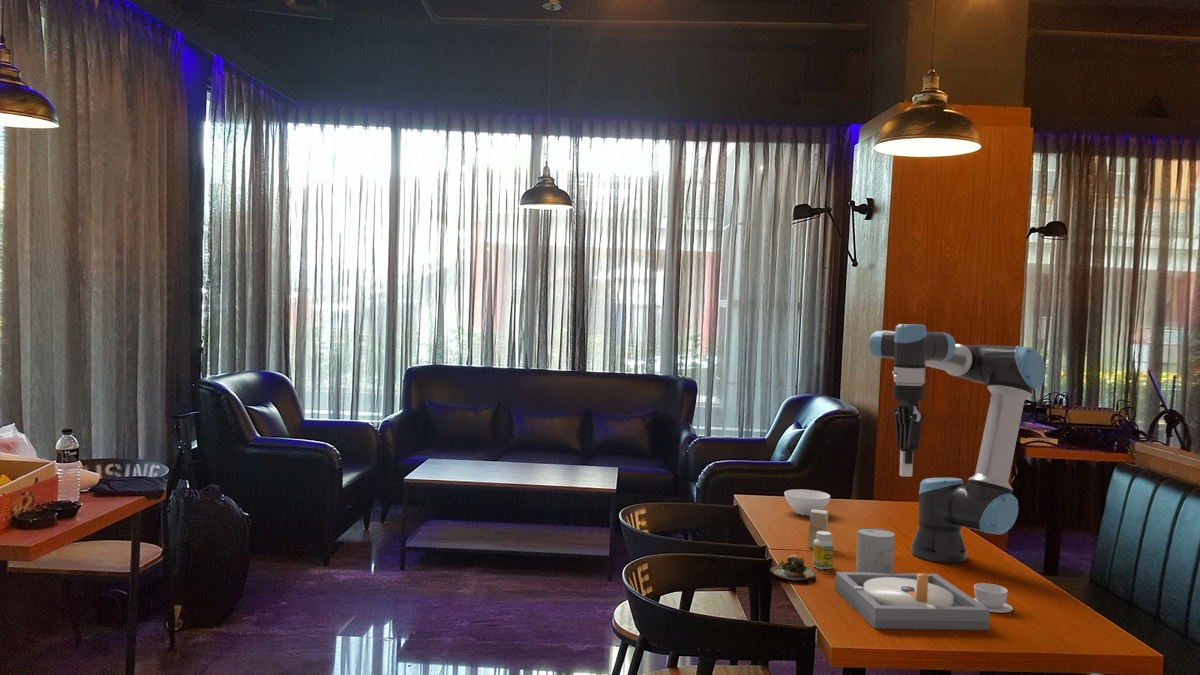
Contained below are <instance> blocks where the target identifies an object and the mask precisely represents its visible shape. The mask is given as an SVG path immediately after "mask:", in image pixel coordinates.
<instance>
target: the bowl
mask: <svg viewBox="0 0 1200 675" xmlns="http://www.w3.org/2000/svg"><path fill="white" fill-rule="evenodd" d="M783 494H784V498H785V500H786V502H787V503H788V505H790V506H791V508H792V509H793V510H794V512H795V513H796V514H797V515H799V514H801V515H800V516H804V515H807V517H810V512H811V510H812V509H816V510H824V508H825V507H826V506H827V505H828V504H829V502H830V499H831V495H830V494H829V493H827V492H824V491H820V490H813V489H800V488H799V489H788V490H785V491H784V493H783Z"/></svg>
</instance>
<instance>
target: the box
mask: <svg viewBox="0 0 1200 675" xmlns="http://www.w3.org/2000/svg"><path fill="white" fill-rule="evenodd" d="M828 526H829V510H824V509H822V510H816V509H812V510H811V512H810V516H809V526H808V527H809V528H808V546H807V547H808V548H810V549H813V545H814V540H815V539H817V537H816V532H818V531H826V532H828V529H829V528H828Z"/></svg>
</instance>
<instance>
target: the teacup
mask: <svg viewBox="0 0 1200 675" xmlns="http://www.w3.org/2000/svg"><path fill="white" fill-rule="evenodd" d="M973 589H974V590H973V591H974V598H973V597H972V598H973V599H974V600H976V601H977V602H979V603H980V604H982V605H983V606H984V607H986V608H987V609H989V610H990V613H1000V614H1001V613H1004V614H1005V613H1011V612H1012V611H1013V610H1014V608H1013V606H1011V604H1008V603H1006V602H1007V598H1008V592H1009V591H1008V589H1007V588H1005V587H1004V586H1001V585H998V584H993V583H984V582H983V583H981V582H980V583H975V584H974V585H973Z"/></svg>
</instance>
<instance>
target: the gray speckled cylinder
mask: <svg viewBox="0 0 1200 675" xmlns="http://www.w3.org/2000/svg"><path fill="white" fill-rule="evenodd" d="M856 533H857V534H856V535H857V536H856V560H855V572H870V573H894V557H895V556H894V553H895V533H894V532H893V531H890V530H888V529H884V528H877V527H862V528H861V527H860V528H858V529H857V530H856Z"/></svg>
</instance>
